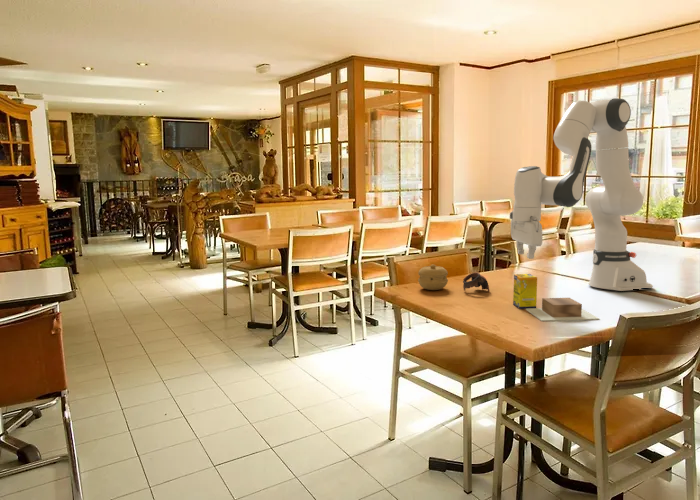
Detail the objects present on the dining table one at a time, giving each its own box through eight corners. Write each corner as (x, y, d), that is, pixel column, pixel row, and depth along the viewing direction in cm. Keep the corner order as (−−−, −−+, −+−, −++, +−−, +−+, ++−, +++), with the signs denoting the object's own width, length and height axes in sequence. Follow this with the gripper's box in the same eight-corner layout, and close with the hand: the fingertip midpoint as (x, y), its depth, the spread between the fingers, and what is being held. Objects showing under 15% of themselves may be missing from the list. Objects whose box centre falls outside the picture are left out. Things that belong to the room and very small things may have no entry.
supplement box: (512, 304, 183) (513, 274, 181) (529, 304, 183) (530, 273, 182) (519, 309, 177) (520, 277, 175) (536, 308, 178) (537, 276, 176)
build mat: (578, 308, 177) (578, 307, 177) (599, 319, 163) (599, 318, 163) (525, 309, 176) (525, 308, 176) (541, 321, 162) (541, 320, 162)
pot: (453, 290, 206) (453, 265, 205) (425, 293, 203) (425, 268, 202) (439, 285, 218) (439, 261, 216) (413, 287, 214) (413, 263, 213)
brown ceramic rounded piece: (492, 294, 199) (483, 276, 197) (469, 304, 202) (460, 286, 200) (489, 281, 210) (480, 264, 208) (467, 291, 213) (458, 274, 211)
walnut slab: (568, 309, 174) (569, 297, 173) (581, 316, 165) (581, 304, 165) (541, 310, 174) (542, 298, 173) (552, 317, 165) (553, 305, 164)
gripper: (548, 217, 166) (546, 261, 167) (525, 213, 186) (524, 251, 188) (528, 218, 165) (527, 261, 167) (507, 213, 186) (506, 252, 188)
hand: (525, 256), depth 178 cm, fingers open, 8 cm apart
